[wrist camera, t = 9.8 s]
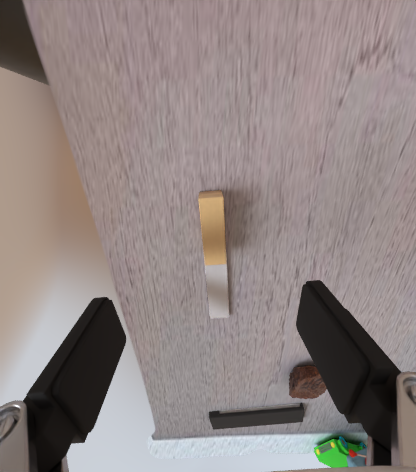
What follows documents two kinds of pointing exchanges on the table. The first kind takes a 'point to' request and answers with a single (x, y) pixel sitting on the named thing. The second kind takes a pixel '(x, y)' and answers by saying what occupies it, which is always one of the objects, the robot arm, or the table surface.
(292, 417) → the dark grey flat bar
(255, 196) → the table surface
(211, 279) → the knife
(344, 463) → the toy car
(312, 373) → the stone
